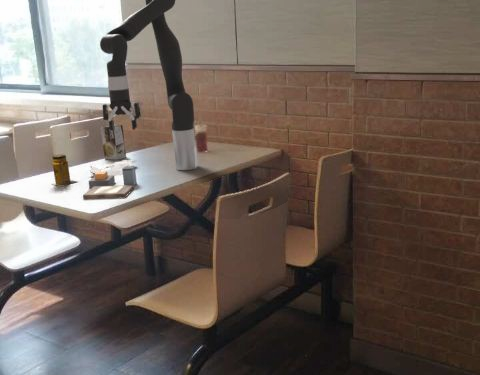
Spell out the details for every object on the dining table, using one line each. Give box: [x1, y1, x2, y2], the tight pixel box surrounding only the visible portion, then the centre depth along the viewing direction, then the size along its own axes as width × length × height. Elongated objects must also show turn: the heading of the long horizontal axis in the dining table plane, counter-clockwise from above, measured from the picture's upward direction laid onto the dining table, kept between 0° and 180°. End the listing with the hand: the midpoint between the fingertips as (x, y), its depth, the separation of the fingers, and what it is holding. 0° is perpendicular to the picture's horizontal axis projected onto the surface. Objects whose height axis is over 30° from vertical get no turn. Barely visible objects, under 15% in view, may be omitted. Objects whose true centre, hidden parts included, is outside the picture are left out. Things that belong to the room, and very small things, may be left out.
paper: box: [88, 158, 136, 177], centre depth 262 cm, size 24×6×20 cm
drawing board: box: [82, 184, 135, 200], centre depth 226 cm, size 16×12×2 cm
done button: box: [93, 171, 108, 180], centre depth 238 cm, size 4×4×3 cm
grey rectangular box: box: [122, 165, 138, 187], centre depth 236 cm, size 4×4×7 cm
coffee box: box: [100, 124, 127, 161], centre depth 288 cm, size 9×6×16 cm
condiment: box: [52, 154, 78, 187], centre depth 246 cm, size 7×8×12 cm
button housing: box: [88, 175, 116, 189], centre depth 239 cm, size 8×8×3 cm
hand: (123, 129), depth 231 cm, fingers open, 8 cm apart
